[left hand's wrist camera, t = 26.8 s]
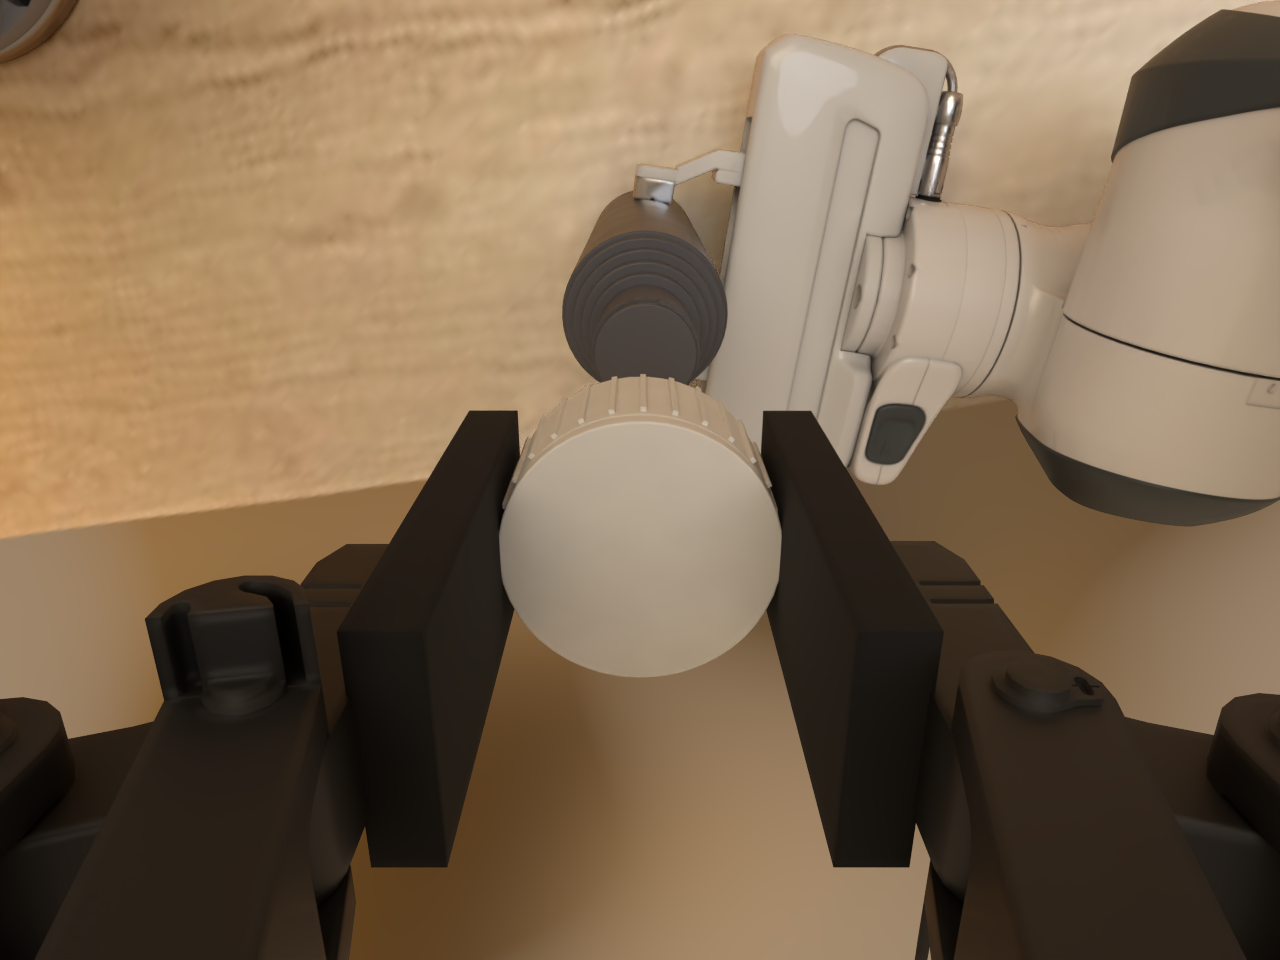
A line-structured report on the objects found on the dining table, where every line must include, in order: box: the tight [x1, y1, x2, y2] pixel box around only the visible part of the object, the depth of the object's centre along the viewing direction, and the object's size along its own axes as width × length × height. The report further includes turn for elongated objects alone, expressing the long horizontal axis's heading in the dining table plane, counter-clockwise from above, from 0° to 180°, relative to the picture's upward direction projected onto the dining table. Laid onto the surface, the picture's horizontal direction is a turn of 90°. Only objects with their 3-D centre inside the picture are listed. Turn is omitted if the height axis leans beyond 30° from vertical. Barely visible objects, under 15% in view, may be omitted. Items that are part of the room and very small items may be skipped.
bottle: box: [562, 191, 728, 386], centre depth 35 cm, size 5×5×25 cm
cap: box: [499, 374, 782, 677], centre depth 13 cm, size 4×4×2 cm
